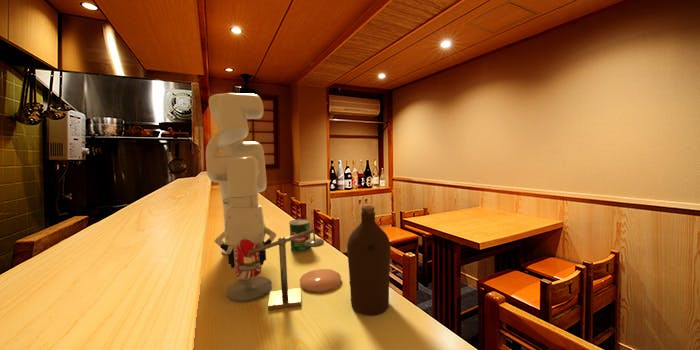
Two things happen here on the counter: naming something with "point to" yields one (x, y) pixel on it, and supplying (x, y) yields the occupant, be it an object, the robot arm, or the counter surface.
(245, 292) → the dish low
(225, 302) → the counter surface
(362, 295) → the olive oil
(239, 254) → the soda can
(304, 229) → the canned tomato
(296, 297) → the balance
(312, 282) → the dish high
